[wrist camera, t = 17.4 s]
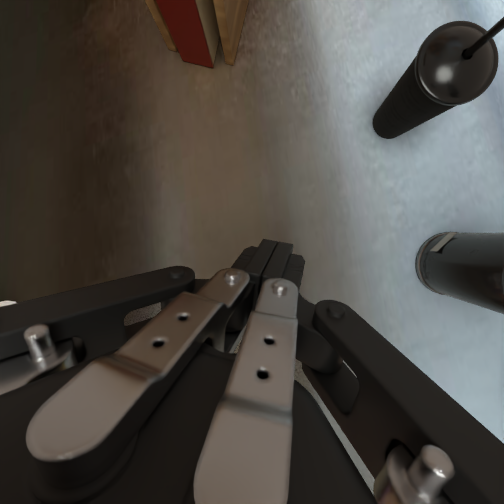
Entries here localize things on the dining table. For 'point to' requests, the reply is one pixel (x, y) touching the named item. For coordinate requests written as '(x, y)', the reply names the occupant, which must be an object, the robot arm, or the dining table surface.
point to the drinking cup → (440, 76)
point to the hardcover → (192, 29)
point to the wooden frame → (229, 22)
